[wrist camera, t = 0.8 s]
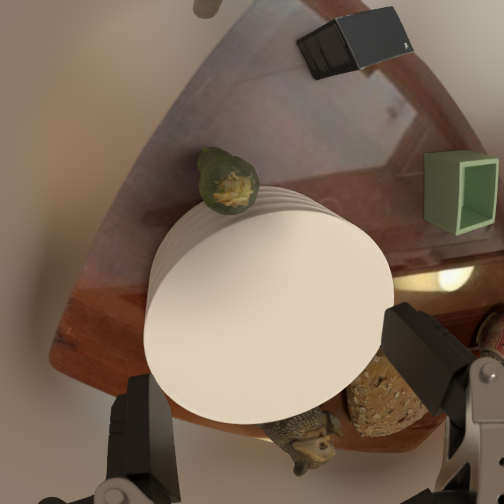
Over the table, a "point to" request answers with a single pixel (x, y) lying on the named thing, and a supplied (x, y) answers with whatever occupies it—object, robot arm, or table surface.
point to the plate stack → (263, 308)
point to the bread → (382, 400)
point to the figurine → (305, 437)
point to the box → (355, 42)
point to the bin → (460, 190)
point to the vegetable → (226, 182)
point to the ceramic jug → (492, 337)
